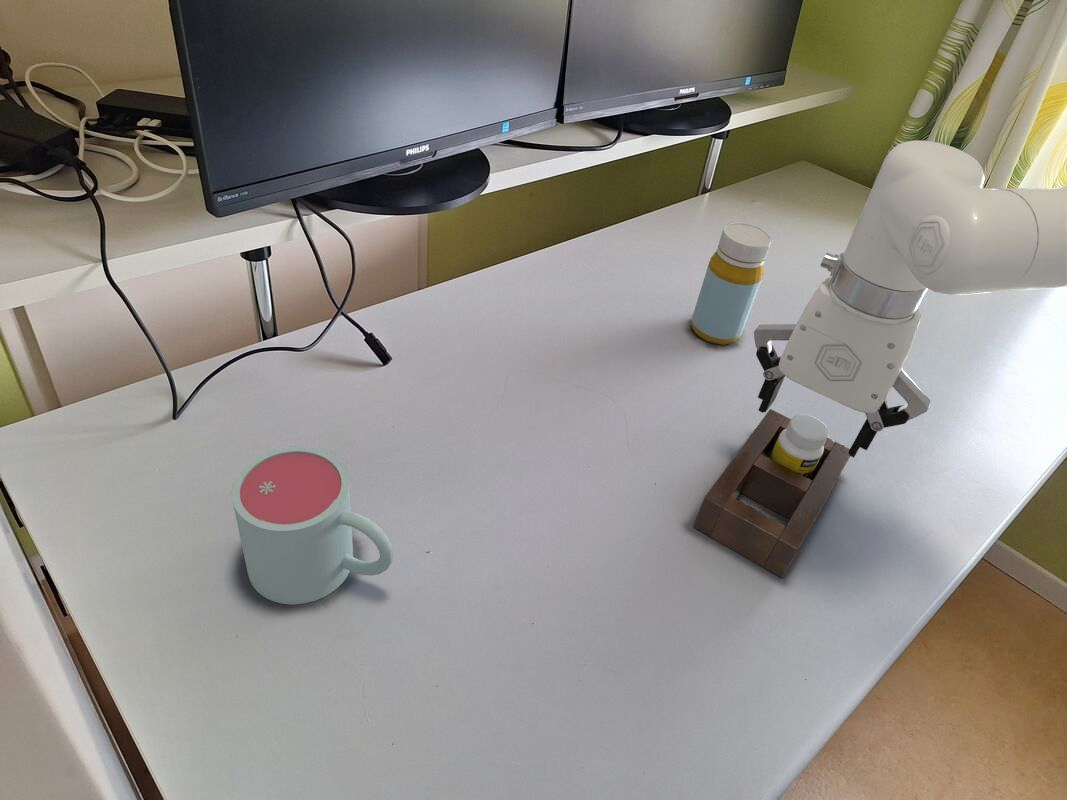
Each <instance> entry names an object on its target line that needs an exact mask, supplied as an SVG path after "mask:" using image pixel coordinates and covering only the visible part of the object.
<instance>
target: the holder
mask: <svg viewBox="0 0 1067 800" xmlns="http://www.w3.org/2000/svg"><path fill="white" fill-rule="evenodd" d="M767 411H768V412H766V413H765V415H764V416H763V418H762V419H761V420H760V422H759V423H758V424H757V426H756V427H755V428H754V430H753V431H752V433H751V434H750V436H748V438H747V439H746V440H745V442H744V443H743V445H742V446H741V448H740V449H739V450H738V451H737V453H736V454H735V456H734V457H733V458H732V460H731V461H730V462H729V463H728V465H727V466H726V467H725V469H724V470H723V471H722V472H721V474H720V475H719V476H718V478H717V480H716V481H715V482H714V484H713V485H712V486H711V488H710V489H709V490H708V491H707V493H706V494H705V496H704V498H703V500H702V502H701V504H700V507H699V509H698V512H697V515H696V517H695V520H694V522H693V525H692V527H693V528H694V529H697V530H698V531H700V532H701V533H704V534H705V535H707V536H709V537H710V538H711V539H714V540H715V541H717V542H719V543H721V544H722V545H724V546H726V547H727V548H729V549H731V550H732V551H734V552H736V553H738V554H739V555H741V556H743V557H745V558H747V559H748V560H750V561H752V562H753V563H755V564H757V565H758V566H760V567H762V568H764V569H766V570H767V571H769V572H771V573H773V574H774V575H776V576H778V577H780V578H784V576H785V575H786V573H787V571H788V569H789V567H790V566H791V564H792V562H793V560H794V558H795V557H796V555H797V553H798V551H799V550H800V548H801V546H802V544H803V542H804V540H805V539H806V537H807V535H808V533H809V531H810V529H811V528H812V526H813V524H814V523H815V521H816V519H817V517H818V516H819V513H820V512H821V510H822V508H823V506H824V505H825V503H826V502H827V499H828V497H829V496H830V494H831V492H832V490H833V488H834V486H835V485H836V483H837V481H838V479H839V477H840V475H841V474H842V473H843V470H844V469H845V467H846V465H847V463H848V461H850V458H851V456H849V454H848V452H849V450H850V448H851V447H848V446H847V445H844V444H842V443H841V442H838V441H836V440H834V439H833V438H831V437H829V436H828V437H827V439H826V441H825V444H824V451H823V454H822V456H821V458H820V460H819V462H818V464H817V465H816V467H815V469H814V471H813V473H812V475H811V477H810V479H808V478H806V477H804V476H802V475H800V474H798V473H796V472H794V471H792V470H790V469H789V468H787V467H785V466H783V465H781V464H779V463H777V462H775V461H773V460H771V459H769V457H768V455H769V456H770V454H771V452H772V450H773V448H774V446H775V444H776V441H777V439H778V437H779V435H780V433H781V432H782V431H783V430H784V429H786V428H787V426H788V424H789V422H790V420H791V419H792V418H790V417H787V416H785V415H783V414H781V413H780V412H778V411H776V410H774V409H772V408H769V409H768V410H767ZM811 478H813V480H811ZM741 494H742V495H743V496H746V497H747V498H750V499H751V500H753V501H755V502H757V503H759V504H760V505H762V506H764V507H766V508H768V509H770V510H771V511H773V512H775V513H777V514H779V515H781V516H782V517H784V518H786V519H788V522H787V523H786V525H784V524H782V523H780V522H779V521H777V520H775V519H774V518H772V517H770V516H768V515H766V514H765V513H762V512H761V511H759V510H758V509H755V508H754V507H751V506H750V505H749V504H746V503H744V502H742V501H741V500H739V499H738V497H739V496H740V495H741Z"/></svg>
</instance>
